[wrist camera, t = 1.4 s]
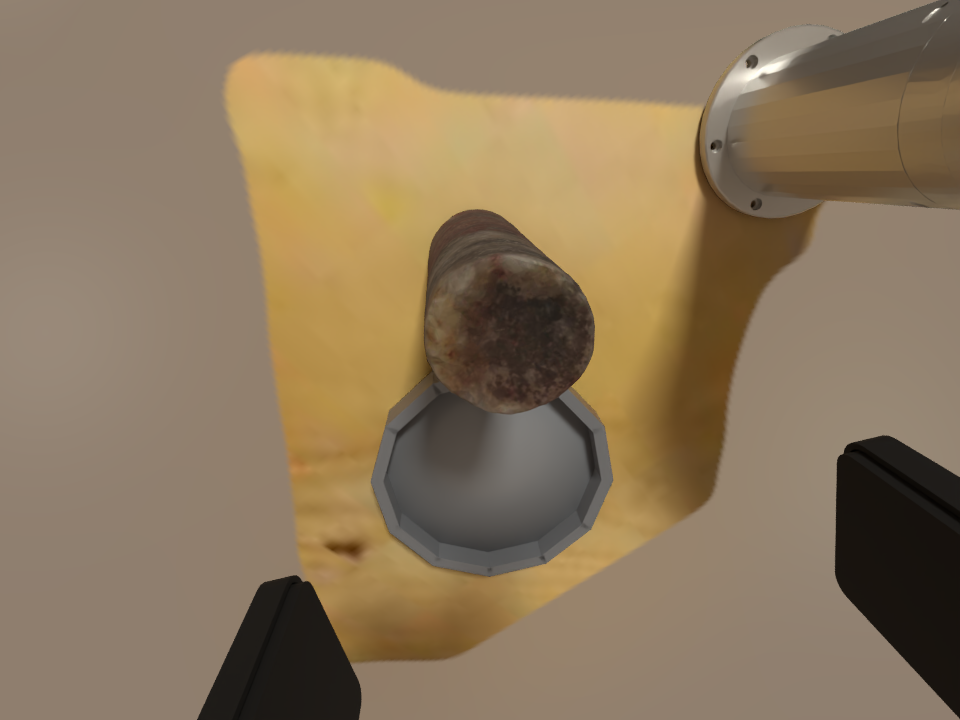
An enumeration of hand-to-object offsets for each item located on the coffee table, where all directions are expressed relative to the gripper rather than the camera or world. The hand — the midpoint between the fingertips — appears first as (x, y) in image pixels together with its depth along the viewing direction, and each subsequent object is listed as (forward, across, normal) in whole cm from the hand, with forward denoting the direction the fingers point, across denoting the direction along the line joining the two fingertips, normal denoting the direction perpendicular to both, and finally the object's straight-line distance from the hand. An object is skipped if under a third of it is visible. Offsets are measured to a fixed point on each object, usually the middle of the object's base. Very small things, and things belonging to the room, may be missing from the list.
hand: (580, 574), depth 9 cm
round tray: (+32, +3, +18) cm, 37 cm away
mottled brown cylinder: (+32, 0, 0) cm, 32 cm away
